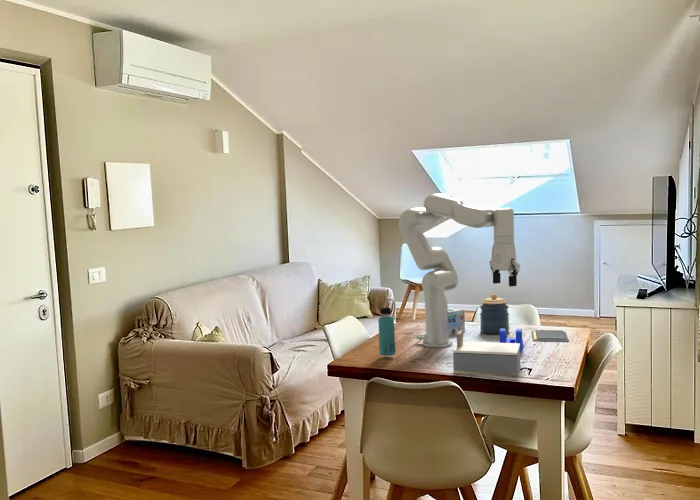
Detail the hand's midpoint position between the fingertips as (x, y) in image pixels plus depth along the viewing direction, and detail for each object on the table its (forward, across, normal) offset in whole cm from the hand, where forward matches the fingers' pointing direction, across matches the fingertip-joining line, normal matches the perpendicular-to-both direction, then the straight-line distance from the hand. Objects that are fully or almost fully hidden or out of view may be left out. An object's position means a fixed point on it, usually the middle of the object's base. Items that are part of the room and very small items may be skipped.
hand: (504, 284), depth 232 cm
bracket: (+28, -10, +11) cm, 32 cm away
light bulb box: (+29, -47, +6) cm, 55 cm away
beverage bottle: (+28, -23, -40) cm, 54 cm away
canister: (+28, -37, +23) cm, 52 cm away
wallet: (+29, -16, +36) cm, 49 cm away
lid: (+21, +11, -17) cm, 29 cm away
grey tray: (+28, +11, -17) cm, 34 cm away
